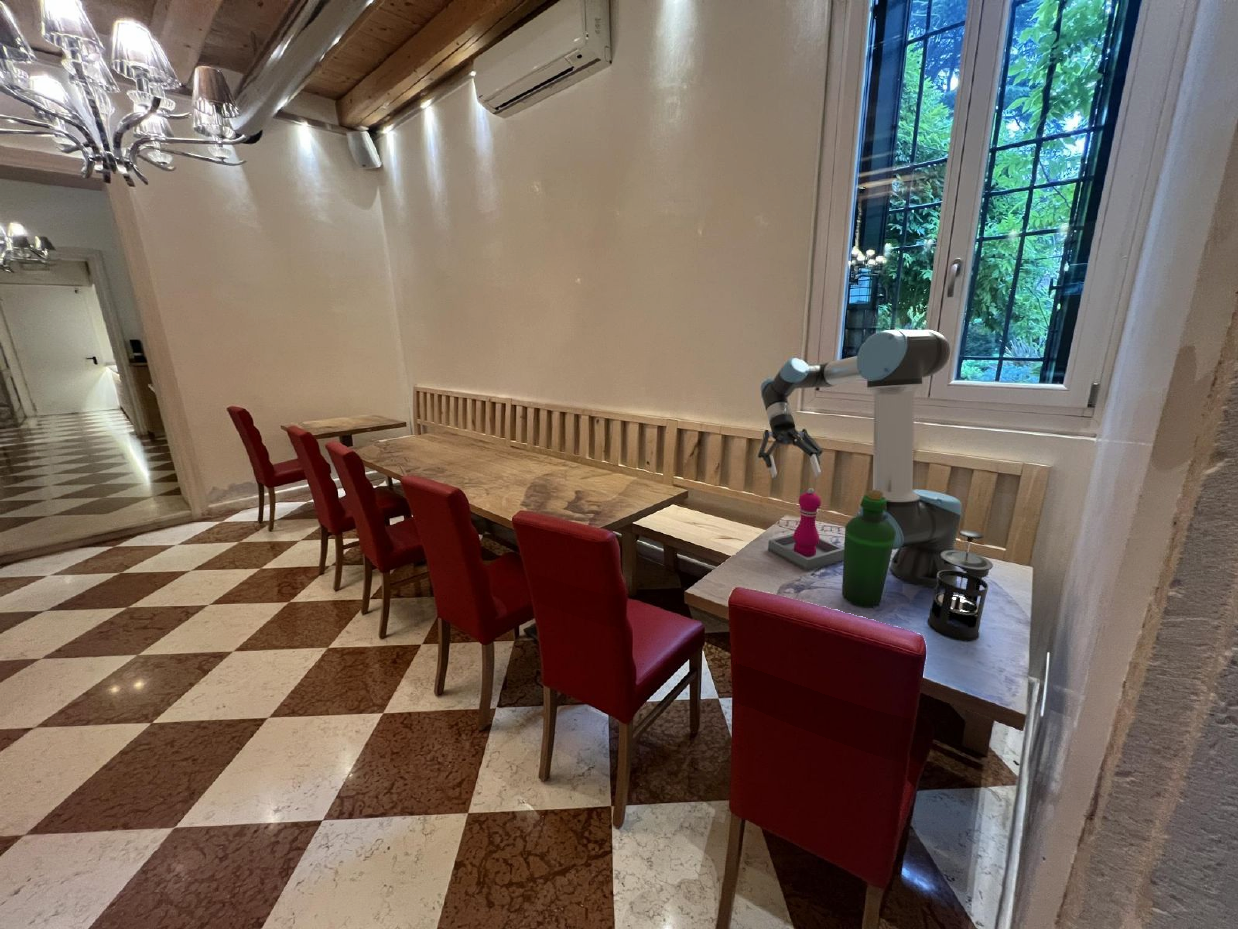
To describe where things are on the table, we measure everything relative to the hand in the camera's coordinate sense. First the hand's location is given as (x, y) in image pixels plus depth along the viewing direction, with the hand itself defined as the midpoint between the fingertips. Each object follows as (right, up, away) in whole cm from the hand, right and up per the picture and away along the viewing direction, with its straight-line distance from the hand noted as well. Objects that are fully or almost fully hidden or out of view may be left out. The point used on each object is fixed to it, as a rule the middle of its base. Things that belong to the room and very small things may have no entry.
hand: (796, 475), depth 142 cm
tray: (+1, -24, -4) cm, 24 cm away
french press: (+20, -33, -39) cm, 55 cm away
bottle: (+5, -30, -28) cm, 41 cm away
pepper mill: (+1, -23, -4) cm, 23 cm away
